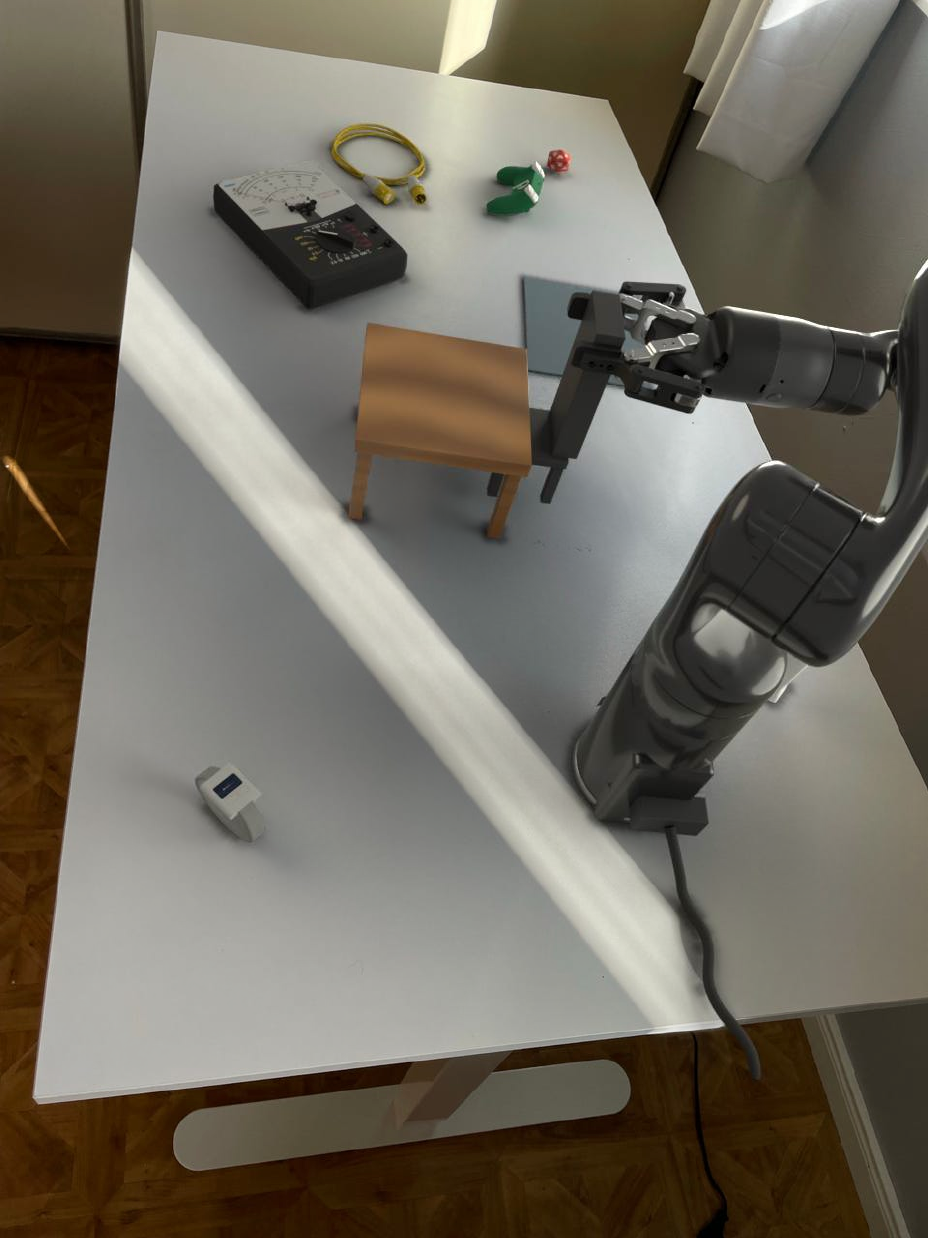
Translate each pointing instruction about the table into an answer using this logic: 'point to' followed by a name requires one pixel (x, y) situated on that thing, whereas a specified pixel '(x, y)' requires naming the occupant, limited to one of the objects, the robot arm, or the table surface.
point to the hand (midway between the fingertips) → (572, 328)
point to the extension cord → (375, 183)
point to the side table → (443, 409)
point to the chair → (572, 398)
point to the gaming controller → (518, 190)
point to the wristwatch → (232, 800)
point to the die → (558, 160)
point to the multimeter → (309, 232)
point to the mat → (556, 327)
